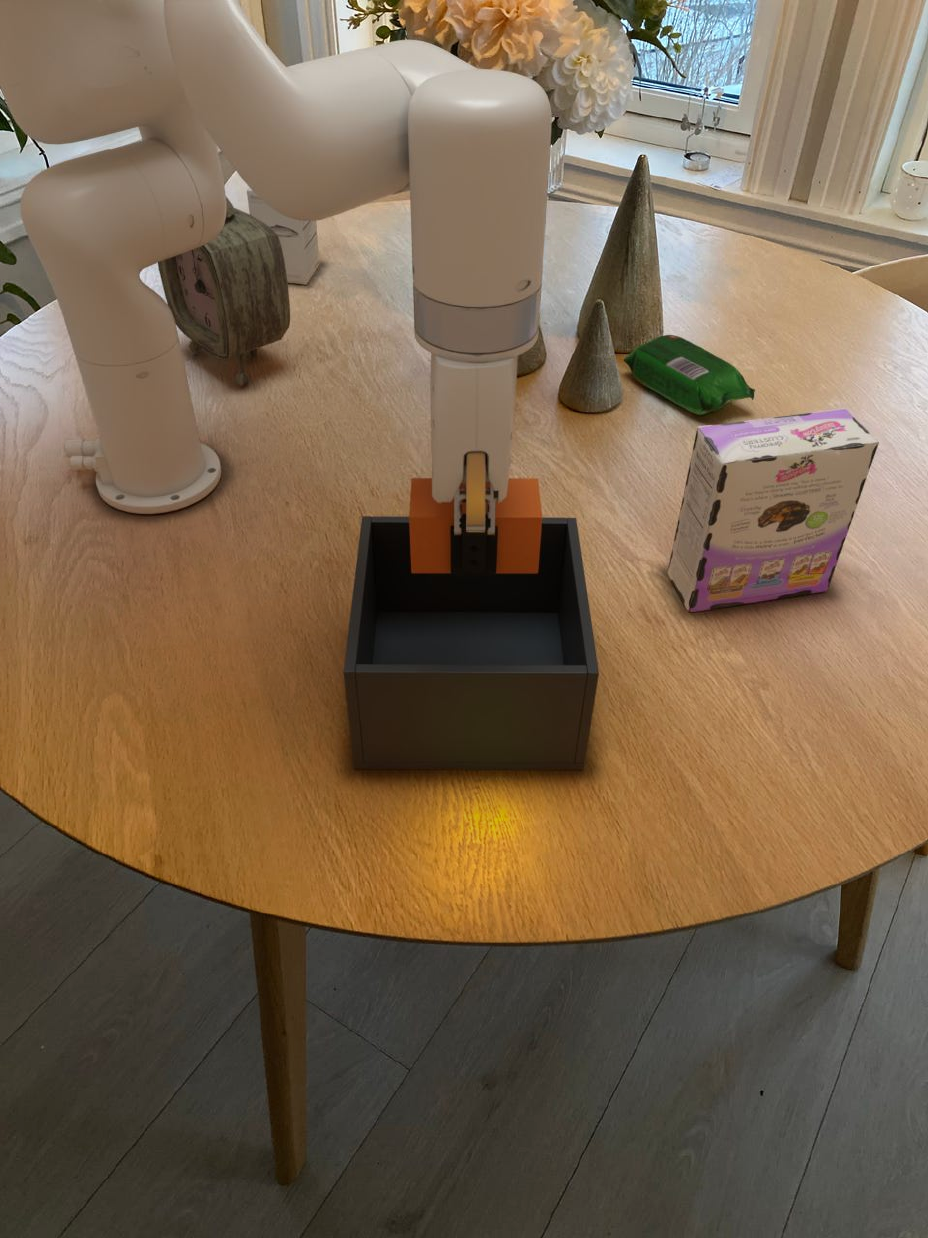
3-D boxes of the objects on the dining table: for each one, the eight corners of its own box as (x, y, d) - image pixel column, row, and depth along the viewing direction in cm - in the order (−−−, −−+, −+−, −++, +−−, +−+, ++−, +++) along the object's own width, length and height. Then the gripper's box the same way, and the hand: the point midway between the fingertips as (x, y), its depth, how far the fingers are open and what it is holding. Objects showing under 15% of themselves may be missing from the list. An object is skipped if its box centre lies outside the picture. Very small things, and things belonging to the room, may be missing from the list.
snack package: (709, 434, 108) (719, 393, 104) (616, 375, 117) (622, 336, 113) (752, 416, 111) (763, 375, 107) (658, 360, 120) (665, 321, 117)
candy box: (799, 554, 93) (847, 404, 81) (828, 594, 88) (884, 441, 77) (664, 573, 90) (695, 421, 79) (688, 614, 86) (724, 461, 75)
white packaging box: (256, 281, 135) (243, 189, 127) (272, 260, 141) (261, 170, 132) (307, 286, 134) (297, 193, 126) (321, 264, 140) (313, 174, 131)
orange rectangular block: (411, 573, 68) (409, 516, 65) (413, 533, 71) (411, 477, 68) (537, 573, 68) (542, 517, 65) (534, 533, 71) (538, 478, 68)
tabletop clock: (176, 352, 120) (131, 138, 103) (238, 330, 125) (204, 122, 107) (239, 397, 112) (202, 175, 95) (302, 372, 117) (278, 155, 100)
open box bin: (353, 769, 73) (343, 672, 66) (369, 612, 86) (362, 515, 78) (583, 770, 73) (599, 673, 66) (565, 613, 86) (576, 517, 79)
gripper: (418, 252, 63) (424, 481, 76) (408, 381, 51) (417, 630, 63) (531, 253, 63) (519, 481, 76) (549, 382, 51) (531, 630, 63)
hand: (472, 547), depth 69 cm, fingers closed on orange rectangular block, 4 cm apart
